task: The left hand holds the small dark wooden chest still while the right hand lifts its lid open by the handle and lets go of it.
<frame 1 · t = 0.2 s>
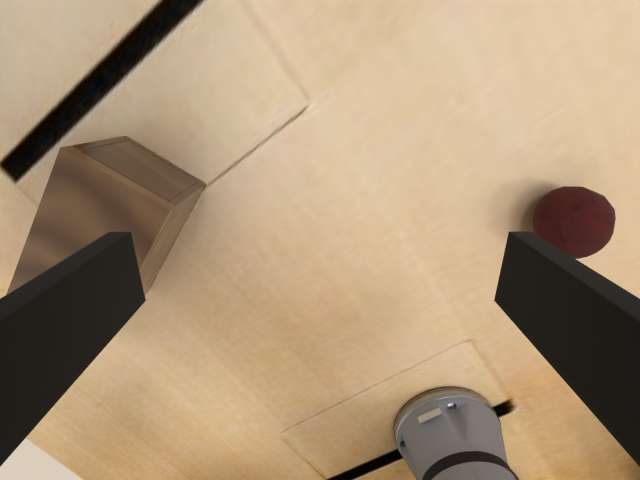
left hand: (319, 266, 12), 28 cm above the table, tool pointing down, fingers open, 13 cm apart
chest: (138, 220, 41), on the table
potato: (550, 211, 41), on the table
lid: (55, 275, 28), point 14 cm above the table, hinge at 0.0°
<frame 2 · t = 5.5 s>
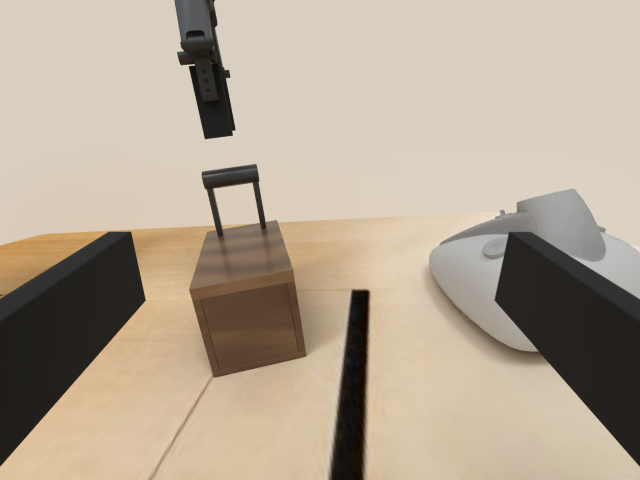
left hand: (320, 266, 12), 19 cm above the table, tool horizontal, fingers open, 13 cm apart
chest: (257, 322, 44), on the table
lid: (236, 218, 39), point 14 cm above the table, hinge at 0.0°
projector: (503, 302, 42), on the table
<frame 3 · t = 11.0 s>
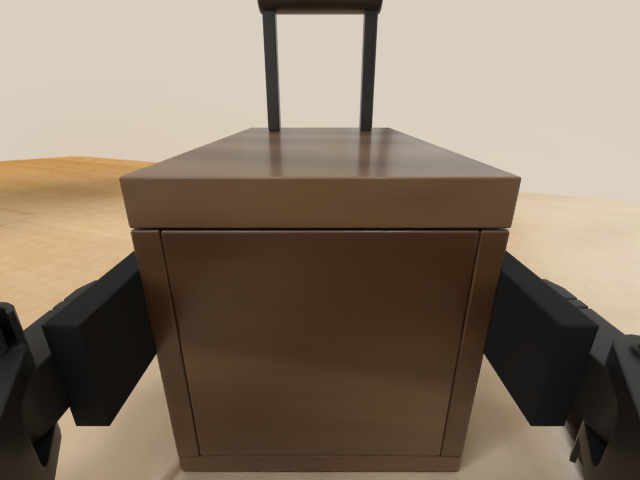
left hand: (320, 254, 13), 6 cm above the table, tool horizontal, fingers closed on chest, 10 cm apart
chest: (320, 327, 20), on the table, touching left hand
lid: (320, 54, 15), point 14 cm above the table, hinge at 0.0°
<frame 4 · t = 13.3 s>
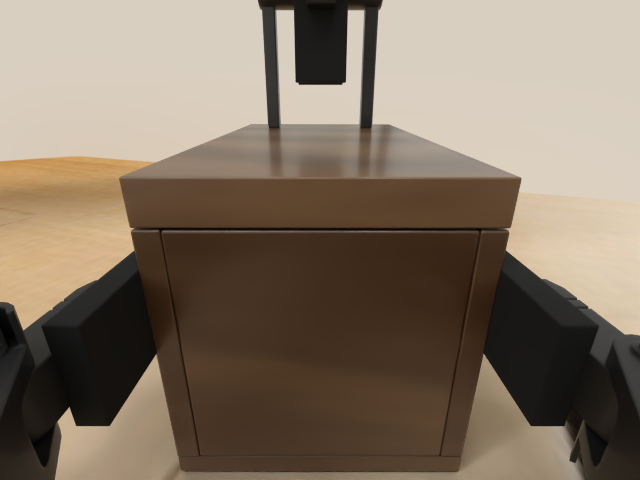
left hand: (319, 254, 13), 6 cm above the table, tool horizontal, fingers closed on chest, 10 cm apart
chest: (319, 327, 20), on the table, touching left hand
lid: (320, 51, 15), point 14 cm above the table, hinge at 0.7°, touching right hand
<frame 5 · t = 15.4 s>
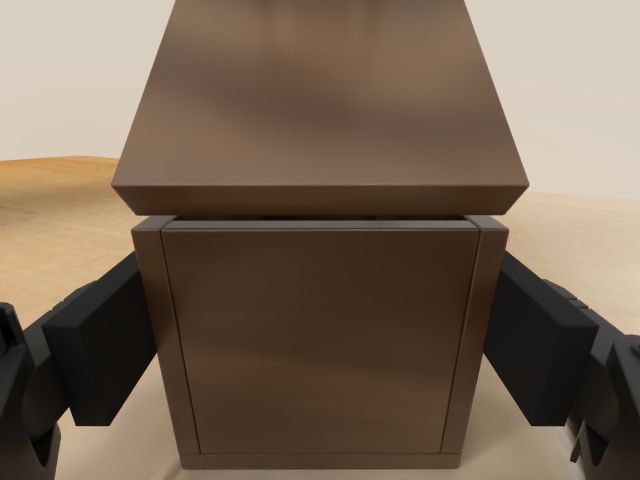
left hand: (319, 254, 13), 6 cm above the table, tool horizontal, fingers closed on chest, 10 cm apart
chest: (319, 325, 20), on the table, touching left hand
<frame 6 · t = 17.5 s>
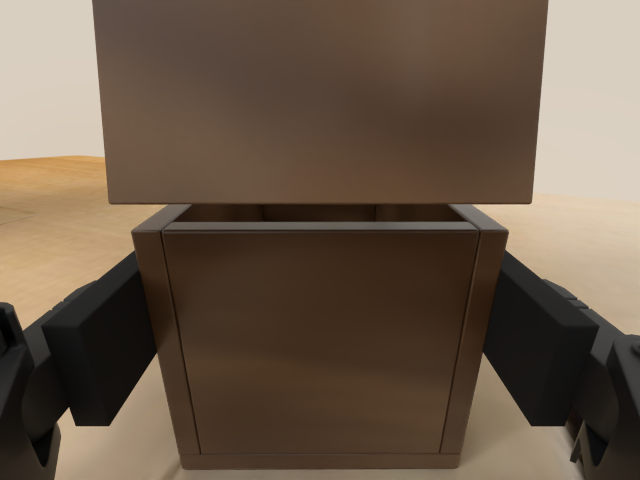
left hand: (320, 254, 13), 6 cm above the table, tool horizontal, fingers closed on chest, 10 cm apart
chest: (319, 325, 20), on the table, touching left hand
when the left hand's fingers open (6 cm above the table, at t = 21.3 s): chest stays where it is, on the table.
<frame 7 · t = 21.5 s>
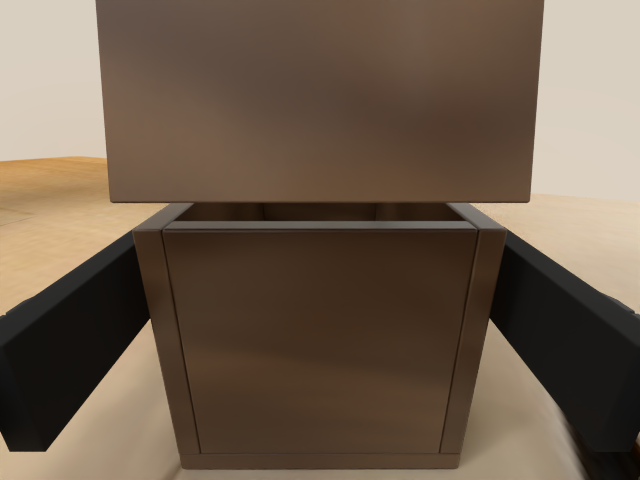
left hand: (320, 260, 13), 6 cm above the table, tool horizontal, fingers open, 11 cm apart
chest: (319, 326, 20), on the table
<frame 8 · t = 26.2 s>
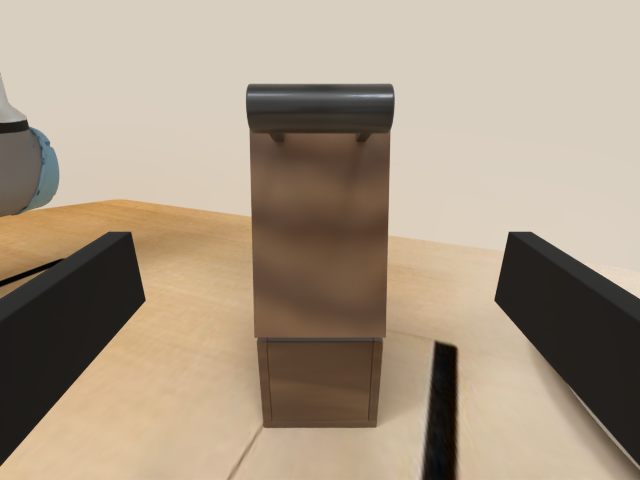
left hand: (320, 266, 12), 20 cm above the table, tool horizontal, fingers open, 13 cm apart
chest: (319, 360, 37), on the table
lid: (320, 225, 21), point 19 cm above the table, hinge at 75.4°
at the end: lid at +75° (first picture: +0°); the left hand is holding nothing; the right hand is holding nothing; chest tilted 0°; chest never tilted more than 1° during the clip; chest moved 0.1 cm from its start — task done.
